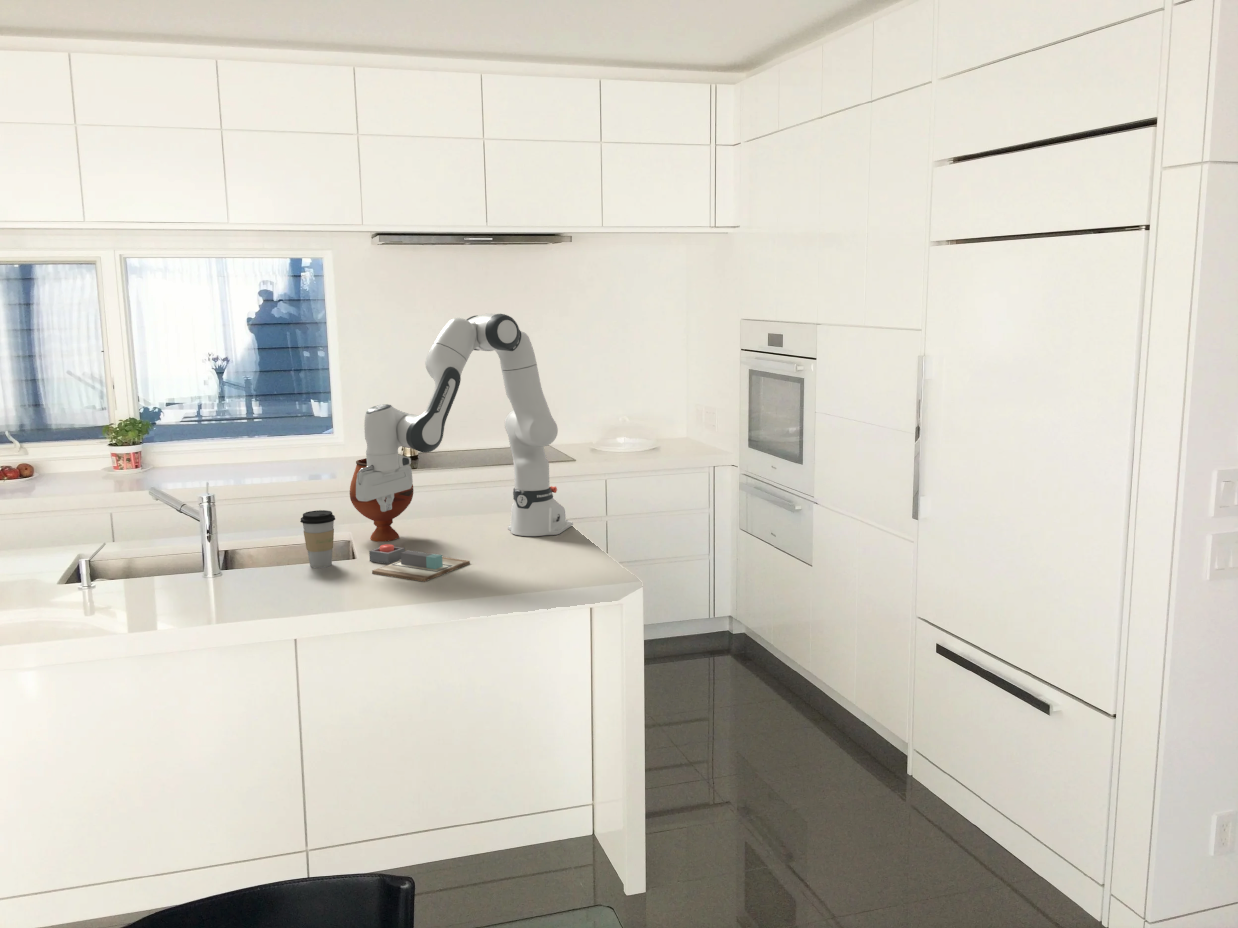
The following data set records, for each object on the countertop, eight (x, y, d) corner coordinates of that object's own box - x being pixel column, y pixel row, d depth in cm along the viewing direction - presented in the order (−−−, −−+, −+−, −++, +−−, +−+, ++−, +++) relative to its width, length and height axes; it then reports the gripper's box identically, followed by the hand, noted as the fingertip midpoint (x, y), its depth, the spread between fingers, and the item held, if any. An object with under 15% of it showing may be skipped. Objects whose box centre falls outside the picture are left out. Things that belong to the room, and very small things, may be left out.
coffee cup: (325, 570, 278) (321, 517, 275) (296, 568, 281) (292, 515, 278) (344, 562, 287) (341, 510, 284) (316, 559, 290) (313, 508, 287)
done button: (386, 552, 291) (386, 543, 291) (397, 554, 289) (396, 545, 289) (377, 555, 288) (376, 546, 287) (387, 557, 286) (387, 548, 286)
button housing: (386, 555, 294) (385, 545, 293) (405, 558, 290) (404, 548, 290) (369, 561, 287) (369, 550, 287) (388, 563, 284) (388, 553, 284)
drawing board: (419, 556, 292) (419, 553, 292) (469, 563, 284) (469, 560, 283) (372, 573, 275) (372, 570, 275) (424, 581, 266) (423, 578, 266)
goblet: (341, 544, 307) (336, 464, 302) (370, 530, 325) (365, 453, 321) (399, 547, 302) (395, 465, 298) (425, 532, 321) (421, 455, 317)
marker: (401, 564, 281) (400, 552, 280) (408, 561, 283) (408, 550, 283) (435, 569, 275) (434, 557, 274) (442, 566, 278) (442, 555, 277)
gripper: (365, 469, 274) (369, 519, 276) (414, 457, 291) (417, 504, 294) (348, 468, 277) (352, 517, 279) (397, 456, 294) (401, 502, 297)
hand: (386, 510), depth 287 cm, fingers closed
